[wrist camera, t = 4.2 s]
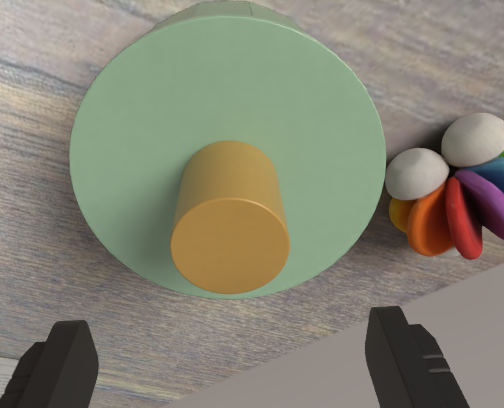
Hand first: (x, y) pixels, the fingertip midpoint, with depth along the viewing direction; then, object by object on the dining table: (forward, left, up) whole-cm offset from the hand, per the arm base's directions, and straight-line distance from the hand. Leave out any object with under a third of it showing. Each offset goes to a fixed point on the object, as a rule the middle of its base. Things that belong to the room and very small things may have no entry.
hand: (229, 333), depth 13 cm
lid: (0, 0, -10) cm, 10 cm away
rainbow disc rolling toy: (+15, -5, -18) cm, 24 cm away
